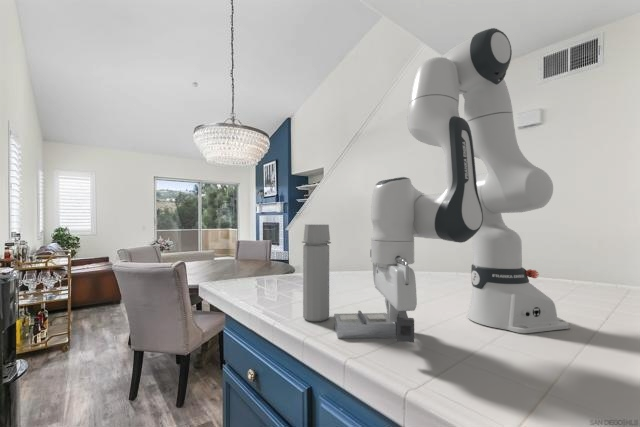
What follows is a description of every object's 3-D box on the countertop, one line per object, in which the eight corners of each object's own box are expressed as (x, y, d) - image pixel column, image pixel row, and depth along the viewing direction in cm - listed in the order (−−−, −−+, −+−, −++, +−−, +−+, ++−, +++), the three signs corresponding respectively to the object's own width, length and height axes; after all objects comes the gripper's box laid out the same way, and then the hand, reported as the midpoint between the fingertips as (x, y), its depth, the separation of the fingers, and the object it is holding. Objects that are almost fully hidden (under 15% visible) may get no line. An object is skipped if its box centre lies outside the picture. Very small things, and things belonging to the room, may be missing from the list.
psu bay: (386, 325, 75) (386, 309, 75) (395, 337, 67) (395, 320, 67) (334, 325, 74) (334, 310, 74) (337, 338, 66) (337, 321, 66)
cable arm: (389, 310, 73) (389, 294, 74) (406, 311, 73) (406, 295, 73) (394, 341, 55) (394, 318, 55) (417, 342, 54) (417, 320, 54)
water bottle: (328, 323, 76) (328, 224, 76) (298, 321, 77) (298, 224, 78) (333, 313, 85) (333, 224, 85) (306, 311, 86) (307, 224, 87)
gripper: (425, 260, 53) (426, 339, 53) (394, 249, 73) (394, 306, 73) (390, 260, 53) (390, 339, 52) (368, 249, 73) (368, 306, 73)
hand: (392, 320), depth 63 cm, fingers closed
